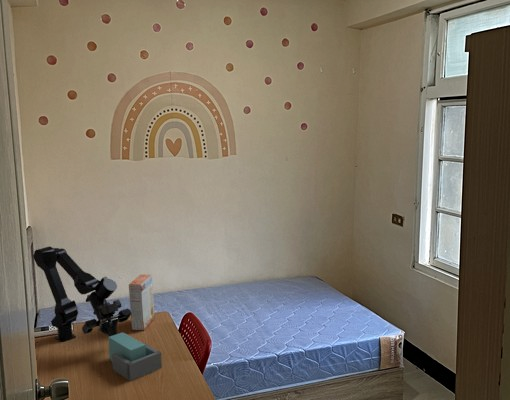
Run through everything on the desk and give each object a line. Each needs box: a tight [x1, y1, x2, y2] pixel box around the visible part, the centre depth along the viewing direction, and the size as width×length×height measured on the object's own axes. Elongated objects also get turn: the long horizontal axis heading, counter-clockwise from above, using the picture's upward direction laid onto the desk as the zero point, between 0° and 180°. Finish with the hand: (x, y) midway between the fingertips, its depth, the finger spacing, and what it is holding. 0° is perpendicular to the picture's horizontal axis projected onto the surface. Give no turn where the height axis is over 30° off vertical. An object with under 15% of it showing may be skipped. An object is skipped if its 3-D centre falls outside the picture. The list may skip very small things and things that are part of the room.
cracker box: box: [128, 274, 155, 331], centre depth 219 cm, size 14×6×21 cm, turn 172°
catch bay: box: [111, 342, 163, 382], centre depth 180 cm, size 12×13×6 cm
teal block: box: [108, 332, 146, 362], centre depth 184 cm, size 16×6×9 cm, turn 44°
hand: (116, 340), depth 189 cm, fingers closed, pressing on teal block
